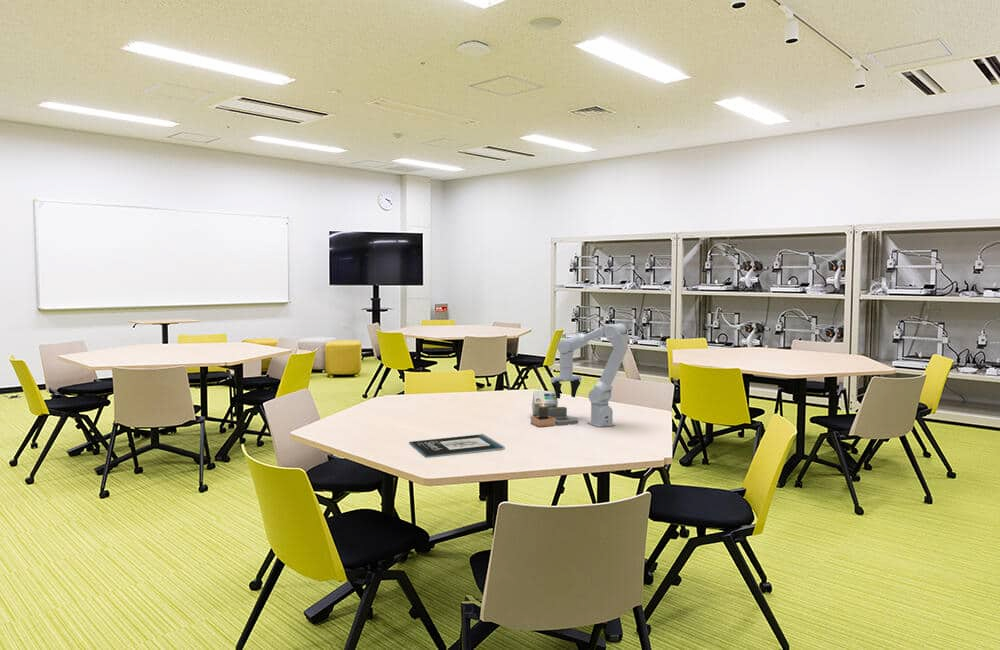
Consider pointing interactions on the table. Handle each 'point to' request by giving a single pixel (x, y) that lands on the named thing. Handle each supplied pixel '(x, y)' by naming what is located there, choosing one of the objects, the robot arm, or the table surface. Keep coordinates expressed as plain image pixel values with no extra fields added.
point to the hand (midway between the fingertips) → (565, 397)
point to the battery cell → (543, 411)
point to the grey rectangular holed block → (561, 416)
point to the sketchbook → (456, 445)
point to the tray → (543, 421)
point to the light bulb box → (543, 400)
